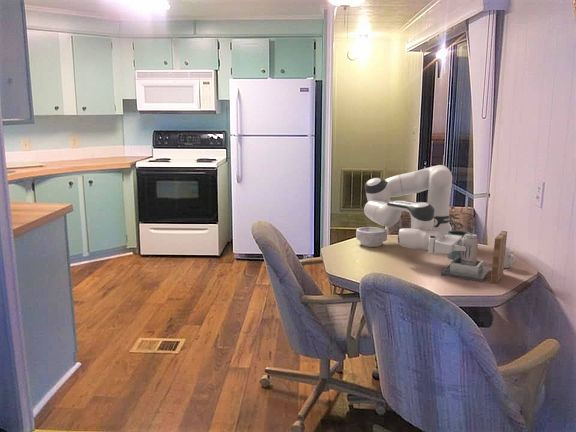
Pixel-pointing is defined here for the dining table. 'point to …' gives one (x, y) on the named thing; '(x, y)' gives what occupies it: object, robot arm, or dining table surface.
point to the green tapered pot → (458, 253)
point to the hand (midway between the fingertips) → (468, 246)
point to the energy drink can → (469, 249)
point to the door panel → (498, 257)
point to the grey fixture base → (466, 270)
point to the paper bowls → (371, 236)
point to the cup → (509, 257)
